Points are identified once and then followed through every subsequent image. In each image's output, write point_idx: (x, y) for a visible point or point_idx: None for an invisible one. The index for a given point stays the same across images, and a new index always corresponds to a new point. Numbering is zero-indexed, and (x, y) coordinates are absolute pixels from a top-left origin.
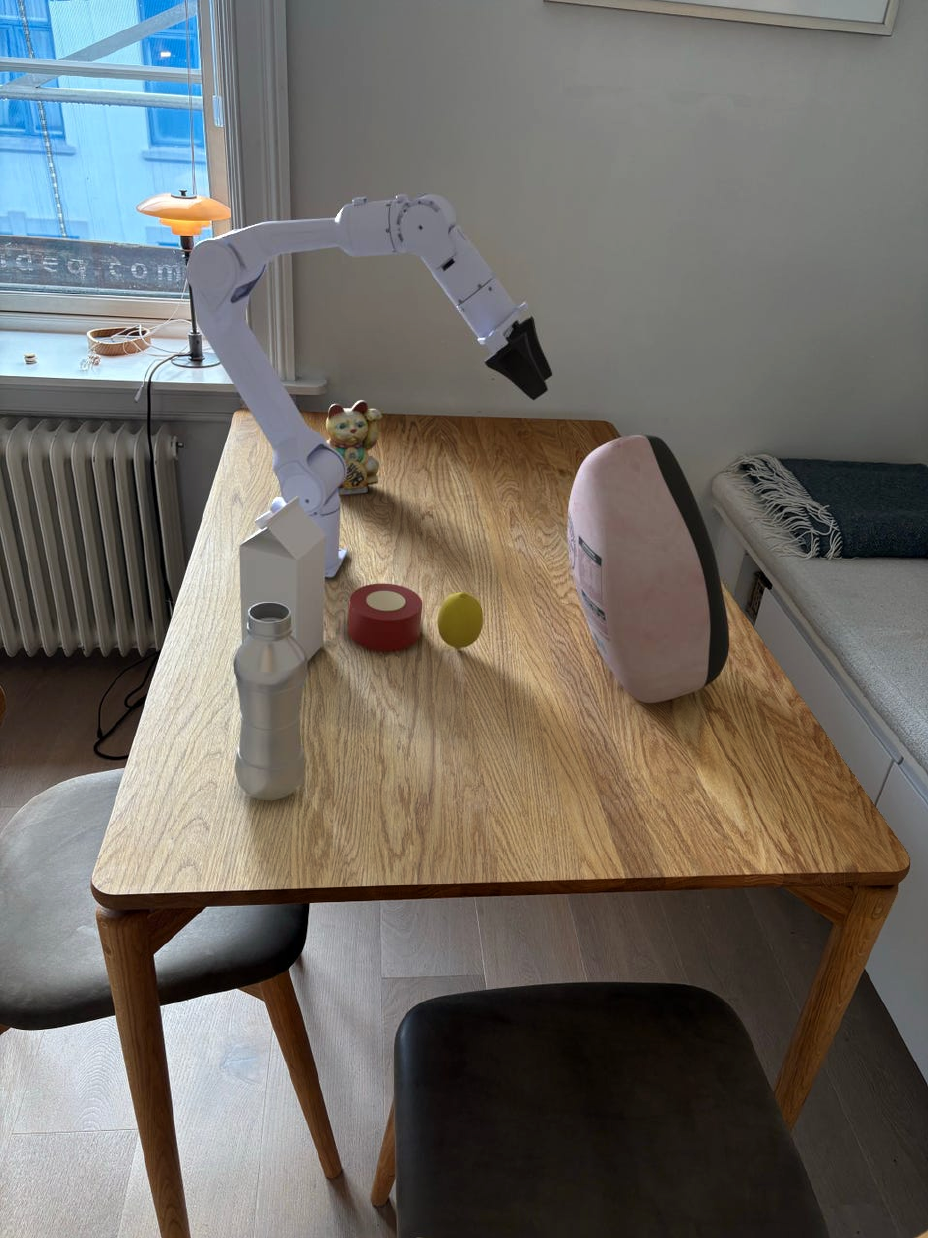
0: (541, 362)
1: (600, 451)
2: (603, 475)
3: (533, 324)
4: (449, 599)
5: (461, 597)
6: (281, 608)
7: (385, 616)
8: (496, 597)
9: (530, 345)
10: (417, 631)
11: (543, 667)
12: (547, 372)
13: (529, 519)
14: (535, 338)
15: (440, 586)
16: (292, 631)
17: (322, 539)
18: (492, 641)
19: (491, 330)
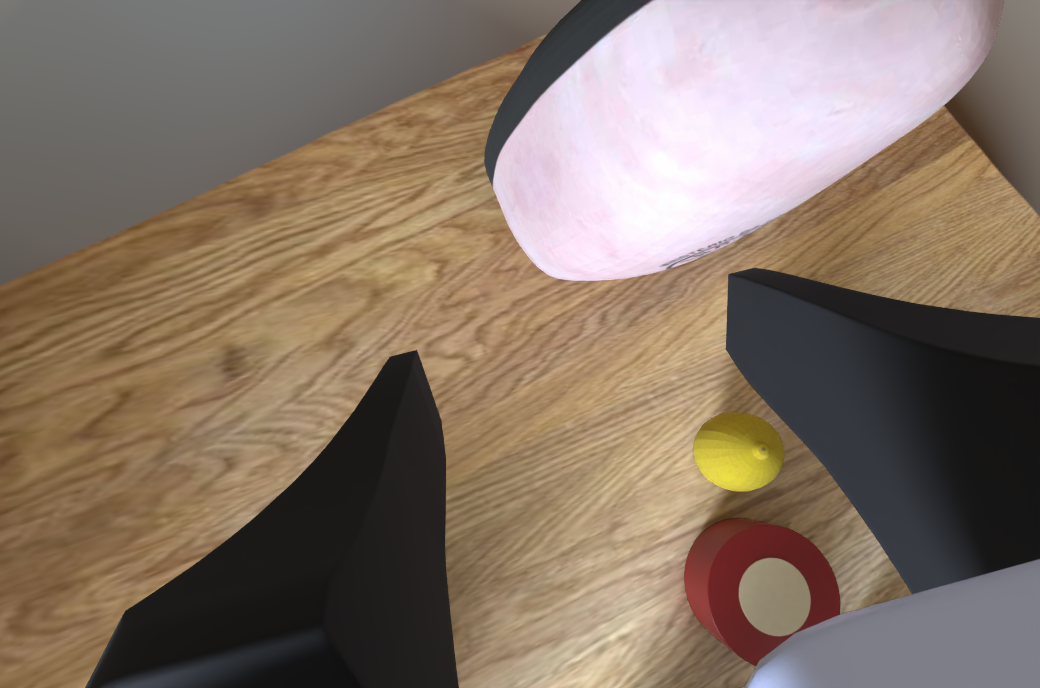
0: (412, 417)
1: (962, 18)
2: (999, 20)
3: (288, 568)
4: (772, 471)
5: (770, 449)
6: None
7: (819, 569)
8: (528, 458)
9: (405, 519)
10: (745, 520)
11: (681, 320)
12: (421, 376)
13: (171, 522)
14: (377, 491)
15: (548, 565)
16: None
17: None
18: (661, 411)
19: None
